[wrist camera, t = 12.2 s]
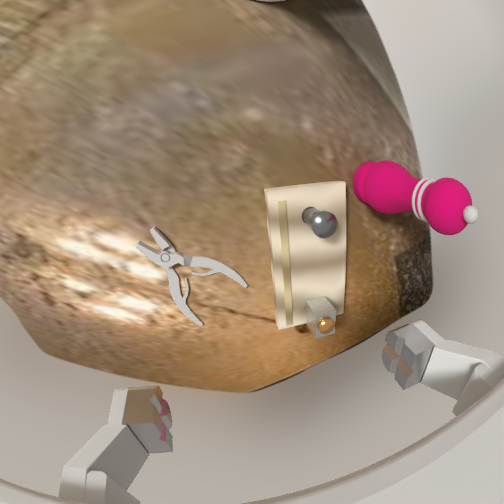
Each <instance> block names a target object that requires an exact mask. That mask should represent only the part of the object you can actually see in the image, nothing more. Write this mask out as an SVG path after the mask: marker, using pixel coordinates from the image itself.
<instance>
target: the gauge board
mask: <svg viewBox="0 0 504 504" xmlns="http://www.w3.org/2000/svg"><path fill="white" fill-rule="evenodd" d="M264 192H265V202H266V213H267V223H268V234H269V245H270V256H271V267H272V279H273V291H274V303H275V315H276V325H277V327H278V329H283V328H288V327H292V326H296V325H300V324H304V323H306V301H307V300H311V299H315V298H320V297H324V296H325V298H326V299H327V300H328V301H329V302H330V304H331V305H332V306H333V307H334V308H335V309H336V315H339V314H343V309H344V293H345V272H346V184H345V182H343V181H331V182H321V183H311V184H301V185H293V186H284V187H276V188H268V189H264ZM310 208H316V209H318V210H320V211H322V210H325V211H329V212H330V213H332V214H334V215H335V217H336V219H337V223H338V224H337V229H336V231H335V233H334V234H333V235H332V236H330V237H328V238H320V237H318V236H317V235H315V234H314V233H313V232H312V230H311V227H310V226H308V225H307V224H306V223H305V221H304V214H305V212H306V211H307V210H308V209H310Z"/></svg>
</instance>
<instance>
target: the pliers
mask: <svg viewBox="0 0 504 504" xmlns="http://www.w3.org/2000/svg"><path fill="white" fill-rule="evenodd" d="M150 232H151V234H152V235H153V237H154V239H155V240H156V242H157V244H158V245H159V247H160V248H161V250H162V251H161V253H160V251H157V250H156V249H154V248H152V247H150V246H148V245H147V244H145V243H143V242H141V241H139V243H138V245H137V247H136V248H137V249H138V250H139V251H141V252H142V253H143V254H144V255H145V256H147V257H148V258H149V259H150V260H151V261H153V262H154V263H155V264H157V265H159V266H161V267H162V268H164V269H165V271H166V273H167V276H168V279H169V290H170V293H171V296H172V298H173V300H174V302H175V303H176V305H177V306H178V308H179V309H180V310H181V311H182V312H183V313H184V314H185V315H186V316H187V317H188V318H189V319H190V320H192V321H193V322H195V323H196V324H198V325H200V326H202V325H203V322H202V321H201V320H200V319H199V318H198V317H197V316H196V315H195V314H194V313H193V312H192V311H191V309H190V308H189V307H188V305H187V304H186V298H187V296H188V290H189V287H188V281H187V278H185V282H186V293H185V294H184V296H183V297H182V295H181V292H180V286H179V276H178V275H177V273H176V272H175V270H174V269H173V267H172V266H173V265H175V264H177V263H179V264H181V265H183V266H189V267H205V268H210V269H212V270H211V271H209V272H204V273H200V272H193V271H192V274H194V275H200V276H206V275H211V274H214V273H218V272H221V273H223V274H225V275H227V276H229V277H230V278H232V279H233V280H235V281H236V282H238V283H239V284H241V285H242V286H243V287H245V288H246V287H247V286H248V285H247V284H246V282H245V281H244V280H243V278H242V277H241V276H240V275H239V274H238V273H237V272H236V271H235V270H233V269H232V268H231V267H229V266H227V265H226V264H224V263H222V262H220V261H218V260H215V259H212V258H209V257H204V256H190V255H186V254H183V253H181V252H176V250H175V249H174V247H173V246H172V244H171V243H170V242H169V241H168V240H167V239H166V238H165V237H164V236H163V235H162V233H161V232H160V231H159V230H158V229H157V228H156V227H153V228H152V229H151V230H150Z"/></svg>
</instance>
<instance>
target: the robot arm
mask: <svg viewBox="0 0 504 504" xmlns="http://www.w3.org/2000/svg"><path fill="white" fill-rule="evenodd" d="M258 1H267V2H276V1H284V0H258ZM385 341H386V342H387V345H386V346H385V348H384V349H383V353H382V358H383V363H384V365H385V367H386V369H387V370H388V371H389V372H392V373H394V374H395V380H396V381H397V382H398V384H399V385H400V386H401V387H402V389H403V390H405V389H407V388H409V387H411V386H413V385H415V384H417V383H420V382H421V383H422V384H424V385H426V386H428V387H430V388H432V389H435V390H437V391H439V392H441V393H443V394H445V395H448V396H450V397H452V398H454V399H456V400H458V401H457V403H456V404H455V406H454V408H453V413H454V414H455V415H456V417H455V418H454V419H452V420H451V421H449V422H448V423H446V424H445V425H443V426H442V427H440V428H439V429H437V430H436V431H434V432H432V433H431V434H429V435H428V436H426V437H424V438H422V439H421V440H419V441H417V442H416V443H414V444H412V445H410V446H409V447H407V448H405V449H403V450H401V451H399V452H397V453H395V454H394V455H392V456H389V457H387V458H385V459H383V460H381V461H379V462H377V463H375V464H372V465H371V466H368V467H366V468H363V469H361V470H359V471H356V472H354V473H351V474H349V475H346V476H344V477H341V478H338V479H335V480H333V481H330V482H327V483H324V484H321V485H318V486H315V487H311V488H308V489H305V490H301V491H298V492H294V493H290V494H286V495H282V496H278V497H274V498H270V499H264V500H260V501H254V502H249V503H243V504H504V359H502V358H501V357H500V356H499V355H498V354H497V353H496V352H493V351H490V350H486V349H482V348H478V347H474V346H470V345H467V344H463V343H459V342H456V341H452V340H446V341H445V340H444V339H443V338H442V337H441V336H440V335H439V334H438V333H436V332H435V331H434V330H433V329H432V328H431V327H430V326H428V325H427V324H426V323H425V322H424V321H422V320H416V321H414V322H412V323H409V324H407V325H404V326H402V327H399V328H397V329H394V330H392V331H389V332H388V333H387V335H386V339H385ZM171 427H172V417H171V411H170V408H169V405H168V403H167V401H166V400H164V399H162V391H161V389H160V387H159V386H146V387H130V388H116V390H115V391H114V394H113V400H112V404H111V409H110V414H109V419H108V425H103V426H102V427H101V428H100V429H99V430H98V431H97V432H96V434H94V436H92V438H91V439H90V440H89V441H88V442H87V443H86V444H85V445H84V446H83V447H82V448H81V449H80V450H79V451H78V452H77V453H76V454H75V455H74V456H73V457H72V458H71V459H70V460H69V461H68V462H67V463H66V464H65V465H64V469H63V474H62V480H61V485H60V492H59V497H55V496H51V495H48V494H44V493H41V492H37V491H34V490H30V489H27V488H24V487H21V486H18V485H16V484H13V483H10V482H8V481H5V480H3V479H0V504H140V501H138V500H137V499H136V498H135V497H134V496H132V495H131V494H130V493H128V492H127V489H128V487H129V486H130V484H131V483H132V481H133V480H134V478H135V477H136V475H137V474H138V472H139V470H140V469H141V467H142V466H143V464H144V462H145V461H146V459H147V458H148V456H149V453H163V452H172V451H173V445H172V435H171V433H170V431H169V429H170V428H171Z"/></svg>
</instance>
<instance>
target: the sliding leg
mask: <svg viewBox="0 0 504 504" xmlns="http://www.w3.org/2000/svg"><path fill="white" fill-rule="evenodd" d="M335 321H336V309H335V308H334V307H333V306H332V305H331V304H330V302H329V301H328V300H327V299H326V298H325V296H324V297H320V298H315V299H311V300H307V301H306V324H307V326H308V327H309V329H310V330H311V332H312V334H313V335H314V337H315V338H319V337H323V336H326V335H330V334H333V333H335Z"/></svg>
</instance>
